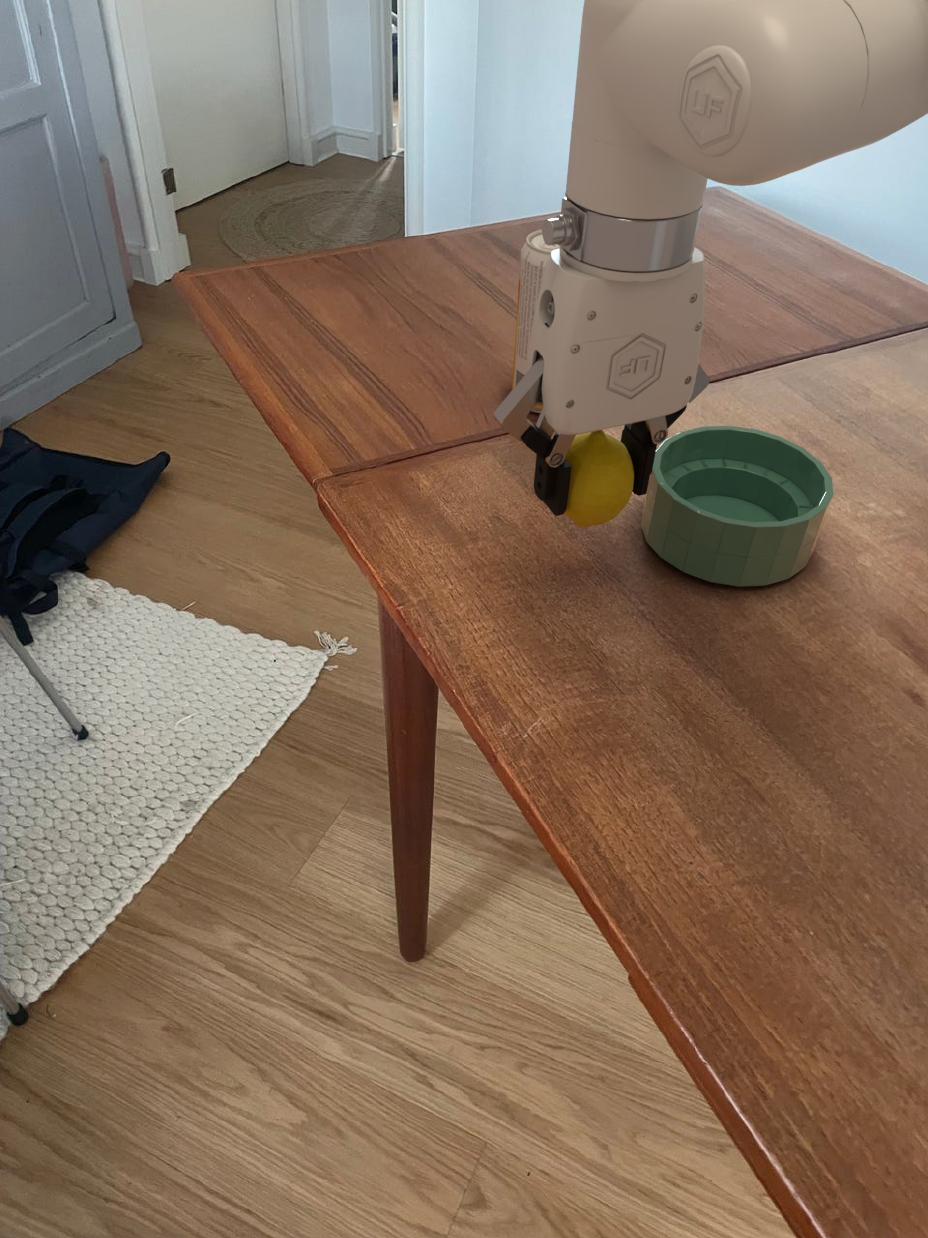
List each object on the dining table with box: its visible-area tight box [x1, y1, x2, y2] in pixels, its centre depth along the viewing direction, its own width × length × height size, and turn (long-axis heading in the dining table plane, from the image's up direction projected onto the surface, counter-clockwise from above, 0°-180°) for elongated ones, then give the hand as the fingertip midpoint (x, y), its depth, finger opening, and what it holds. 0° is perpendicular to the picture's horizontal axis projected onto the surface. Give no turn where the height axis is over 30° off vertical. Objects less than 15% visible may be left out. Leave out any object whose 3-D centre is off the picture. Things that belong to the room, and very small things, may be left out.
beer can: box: [511, 229, 560, 414], centre depth 83 cm, size 6×6×15 cm
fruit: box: [563, 430, 634, 529], centre depth 64 cm, size 6×6×8 cm
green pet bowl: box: [640, 425, 835, 588], centre depth 72 cm, size 13×13×6 cm
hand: (591, 492), depth 65 cm, fingers closed on fruit, 5 cm apart
